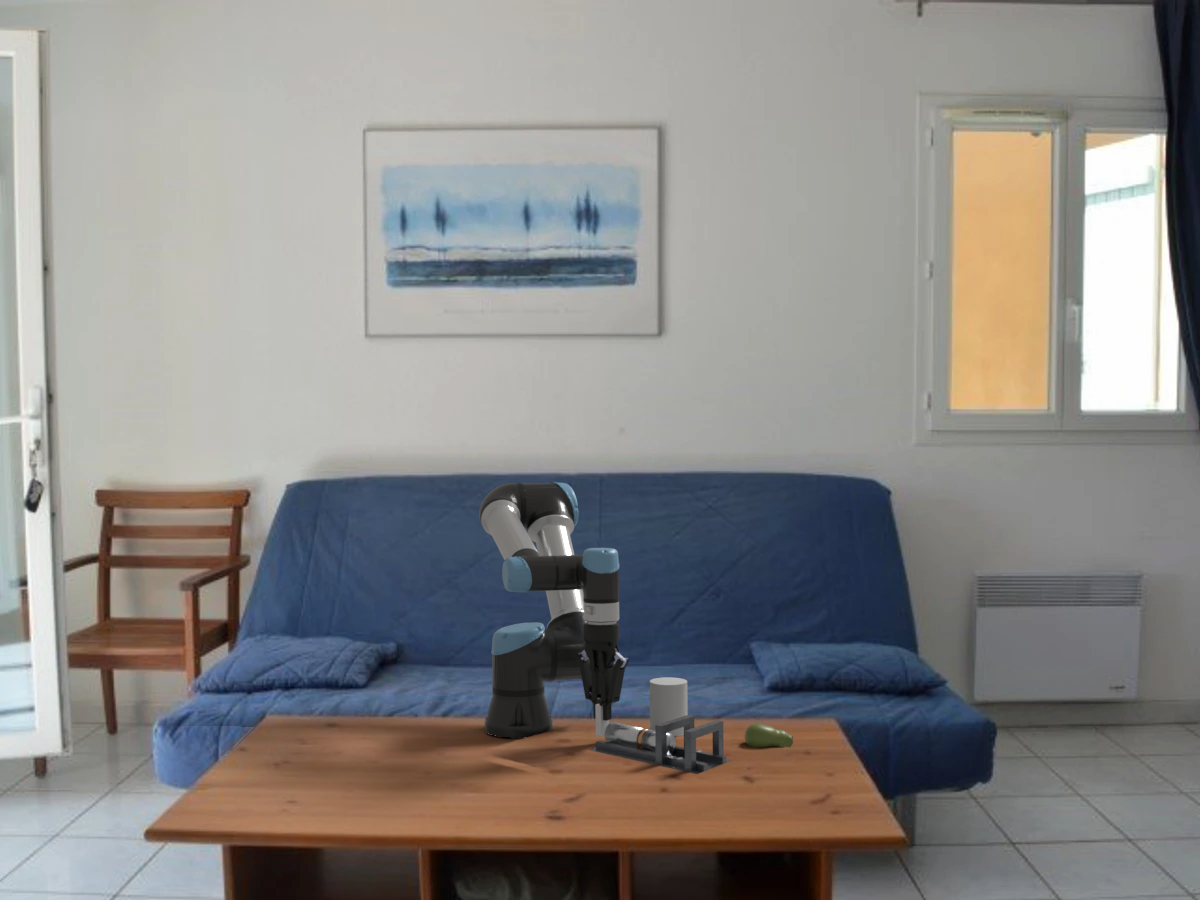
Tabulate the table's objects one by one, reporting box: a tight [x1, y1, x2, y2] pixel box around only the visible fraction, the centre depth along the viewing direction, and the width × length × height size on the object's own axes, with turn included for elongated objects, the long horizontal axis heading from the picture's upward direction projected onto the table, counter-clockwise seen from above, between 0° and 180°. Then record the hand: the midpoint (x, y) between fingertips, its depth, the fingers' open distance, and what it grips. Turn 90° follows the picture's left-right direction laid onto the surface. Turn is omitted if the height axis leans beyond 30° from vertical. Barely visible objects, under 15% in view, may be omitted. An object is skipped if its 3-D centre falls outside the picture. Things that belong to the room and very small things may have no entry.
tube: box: [604, 721, 677, 755], centre depth 223 cm, size 15×4×4 cm, turn 50°
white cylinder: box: [649, 676, 688, 737], centre depth 238 cm, size 8×8×12 cm
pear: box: [744, 723, 794, 748], centre depth 227 cm, size 6×5×10 cm
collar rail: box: [588, 714, 733, 775], centre depth 219 cm, size 27×12×8 cm, turn 50°
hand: (602, 735), depth 228 cm, fingers closed
